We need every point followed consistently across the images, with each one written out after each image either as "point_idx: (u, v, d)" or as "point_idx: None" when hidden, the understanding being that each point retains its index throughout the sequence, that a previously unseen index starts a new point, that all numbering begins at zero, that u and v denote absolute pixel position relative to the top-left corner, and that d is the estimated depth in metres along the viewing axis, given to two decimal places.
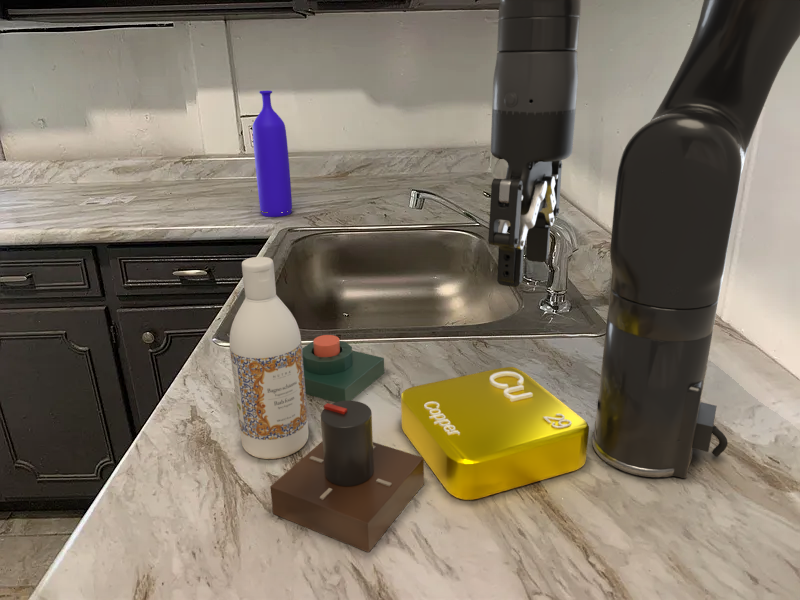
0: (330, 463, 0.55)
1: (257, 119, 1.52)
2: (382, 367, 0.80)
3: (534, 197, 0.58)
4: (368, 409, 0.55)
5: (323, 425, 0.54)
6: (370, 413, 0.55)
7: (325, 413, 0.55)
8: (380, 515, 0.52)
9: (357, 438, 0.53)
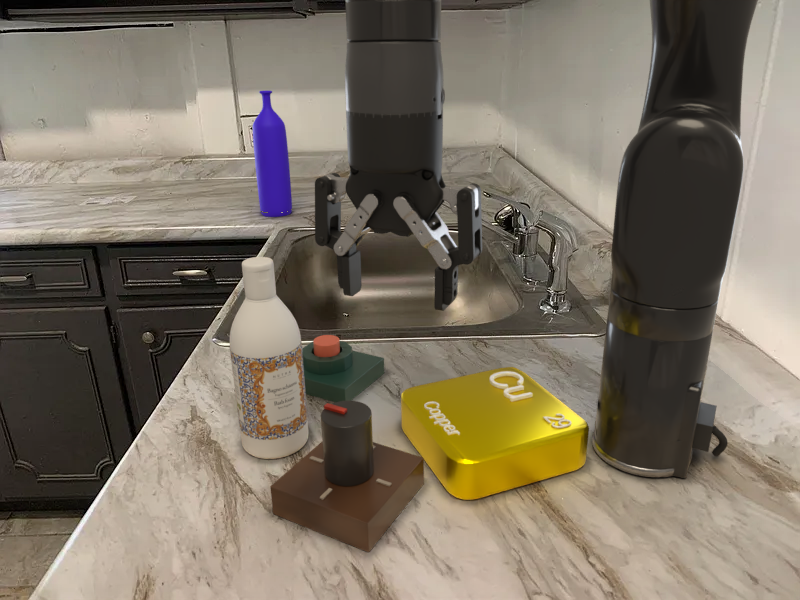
0: (330, 463, 0.55)
1: (257, 119, 1.52)
2: (382, 367, 0.80)
3: None
4: (368, 409, 0.55)
5: (323, 425, 0.54)
6: (370, 413, 0.55)
7: (325, 413, 0.55)
8: (380, 515, 0.52)
9: (357, 438, 0.53)
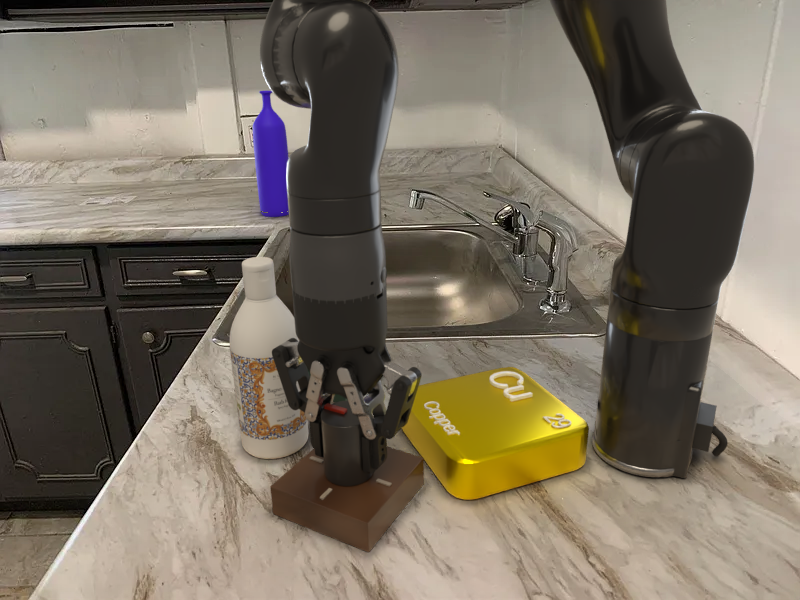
0: (330, 463, 0.55)
1: (257, 119, 1.52)
2: None
3: None
4: None
5: (323, 425, 0.54)
6: None
7: (325, 413, 0.55)
8: (380, 515, 0.52)
9: (357, 438, 0.53)
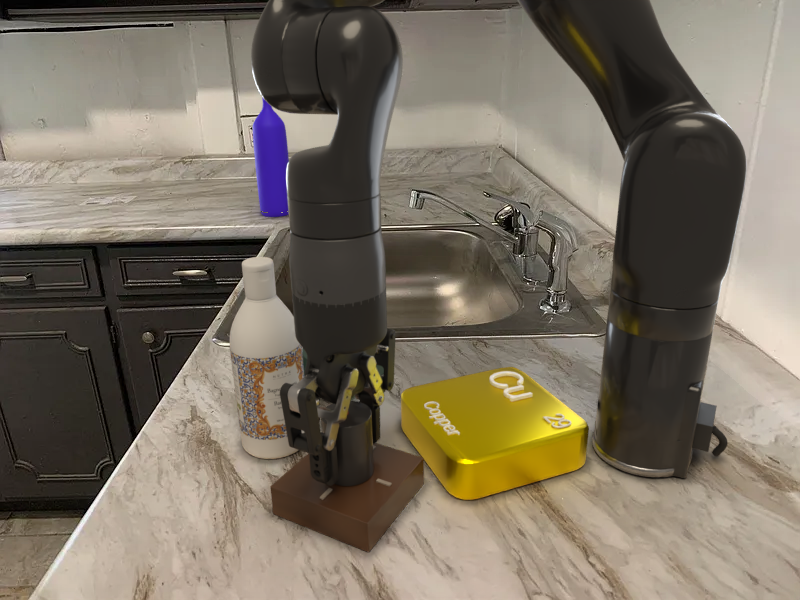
0: (367, 460, 0.55)
1: (257, 119, 1.52)
2: (382, 367, 0.80)
3: (341, 390, 0.51)
4: None
5: (360, 428, 0.53)
6: None
7: (345, 424, 0.53)
8: (380, 515, 0.52)
9: None
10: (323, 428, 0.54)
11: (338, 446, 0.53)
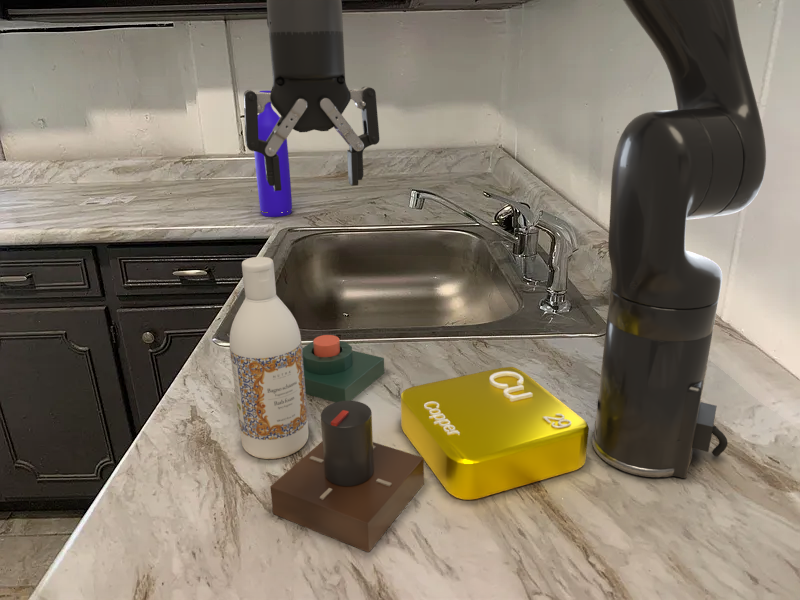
0: (367, 460, 0.55)
1: None
2: (382, 367, 0.80)
3: (288, 112, 0.66)
4: (339, 402, 0.56)
5: (360, 428, 0.53)
6: (346, 401, 0.57)
7: (345, 424, 0.53)
8: (380, 515, 0.52)
9: None
10: (323, 428, 0.54)
11: (338, 446, 0.53)
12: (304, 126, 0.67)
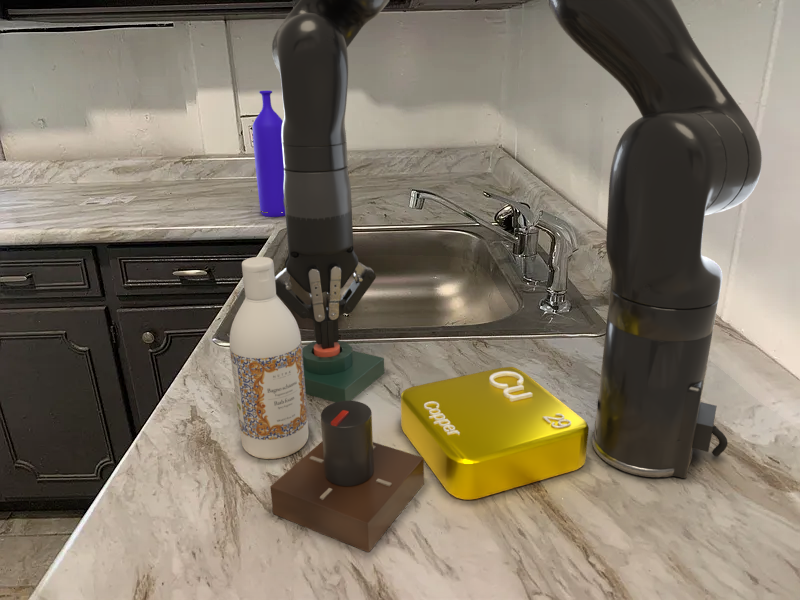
0: (367, 460, 0.55)
1: (257, 119, 1.52)
2: (382, 367, 0.80)
3: (309, 284, 0.73)
4: (339, 402, 0.56)
5: (360, 428, 0.53)
6: (346, 401, 0.57)
7: (345, 424, 0.53)
8: (380, 515, 0.52)
9: None
10: (323, 428, 0.54)
11: (338, 446, 0.53)
12: None
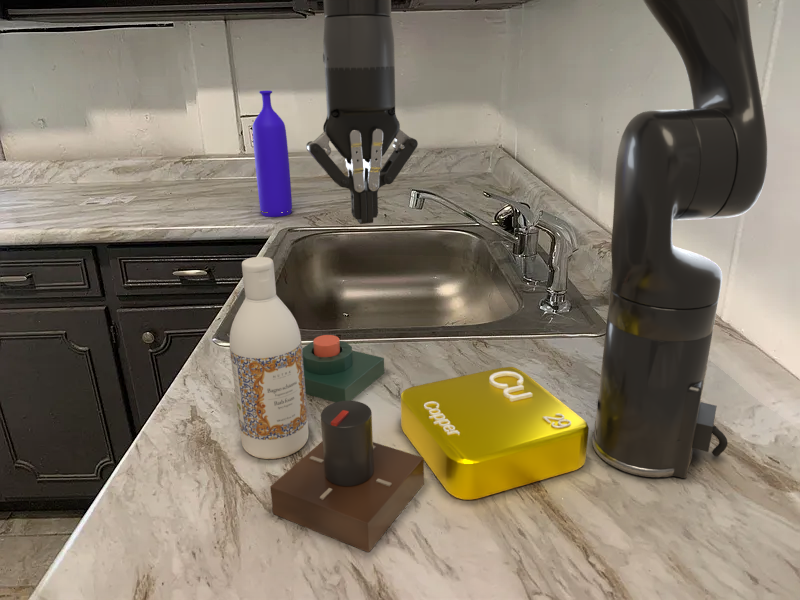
0: (367, 460, 0.55)
1: (257, 119, 1.52)
2: (382, 367, 0.80)
3: (350, 148, 0.69)
4: (339, 402, 0.56)
5: (360, 428, 0.53)
6: (346, 401, 0.57)
7: (345, 424, 0.53)
8: (380, 515, 0.52)
9: None
10: (323, 428, 0.54)
11: (338, 446, 0.53)
12: None
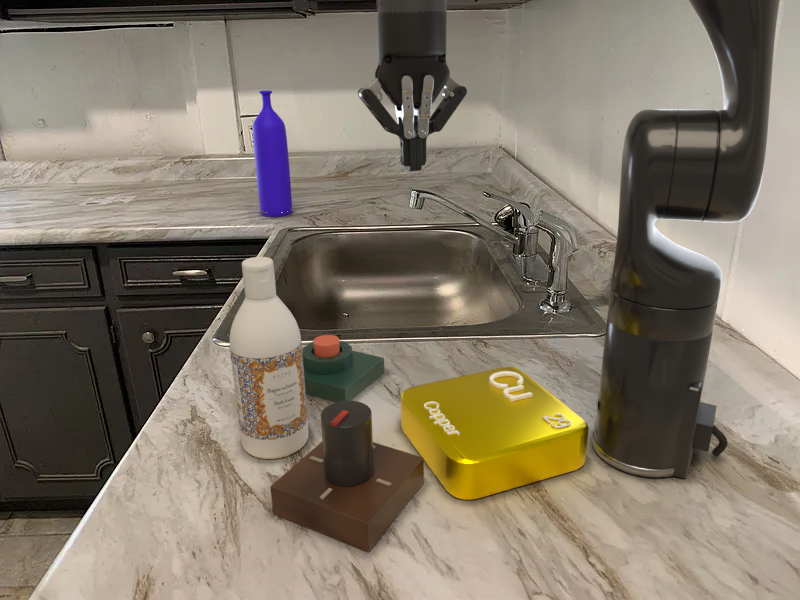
0: (367, 460, 0.55)
1: (257, 119, 1.52)
2: (382, 367, 0.80)
3: (401, 94, 0.70)
4: (339, 402, 0.56)
5: (360, 428, 0.53)
6: (346, 401, 0.57)
7: (345, 424, 0.53)
8: (380, 515, 0.52)
9: None
10: (323, 428, 0.54)
11: (338, 446, 0.53)
12: None
